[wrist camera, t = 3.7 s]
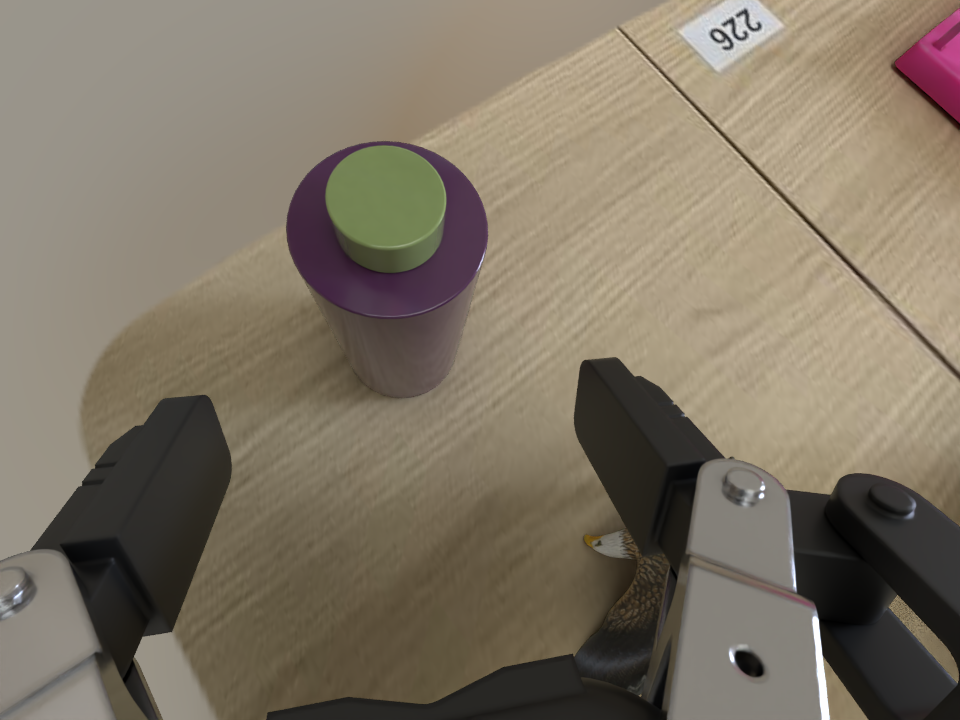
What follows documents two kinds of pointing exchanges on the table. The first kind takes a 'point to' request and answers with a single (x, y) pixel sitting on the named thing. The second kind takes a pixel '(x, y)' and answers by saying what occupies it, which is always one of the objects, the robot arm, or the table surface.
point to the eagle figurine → (626, 619)
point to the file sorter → (937, 64)
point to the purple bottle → (390, 259)
